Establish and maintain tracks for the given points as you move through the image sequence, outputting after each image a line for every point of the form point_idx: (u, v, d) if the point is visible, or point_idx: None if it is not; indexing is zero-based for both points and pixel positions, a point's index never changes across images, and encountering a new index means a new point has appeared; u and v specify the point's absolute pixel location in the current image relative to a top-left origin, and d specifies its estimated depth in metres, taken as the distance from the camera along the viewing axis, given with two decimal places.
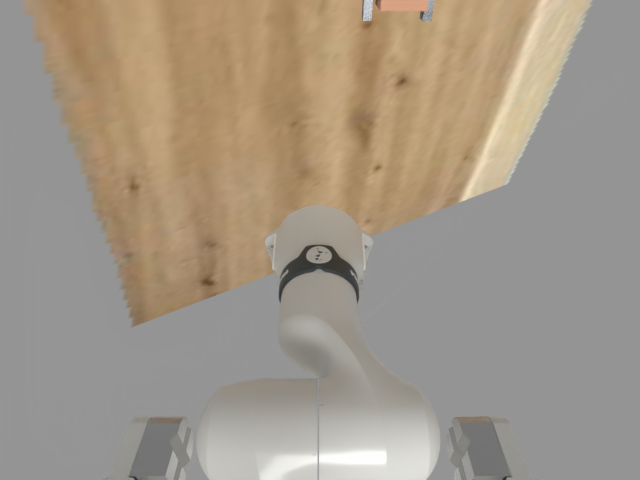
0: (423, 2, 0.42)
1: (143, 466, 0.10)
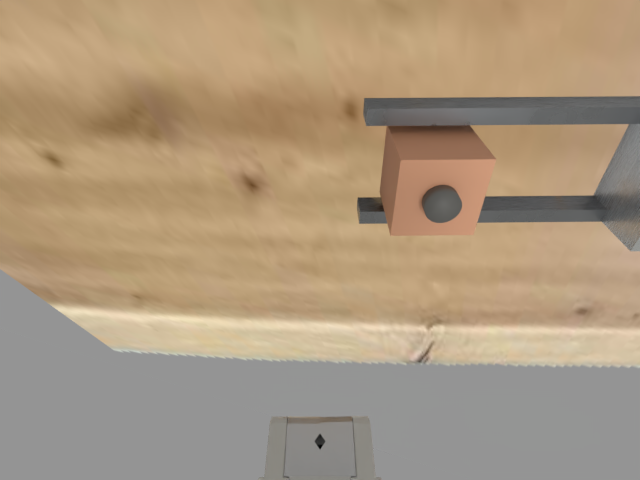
0: (404, 229, 0.23)
1: (295, 466, 0.10)
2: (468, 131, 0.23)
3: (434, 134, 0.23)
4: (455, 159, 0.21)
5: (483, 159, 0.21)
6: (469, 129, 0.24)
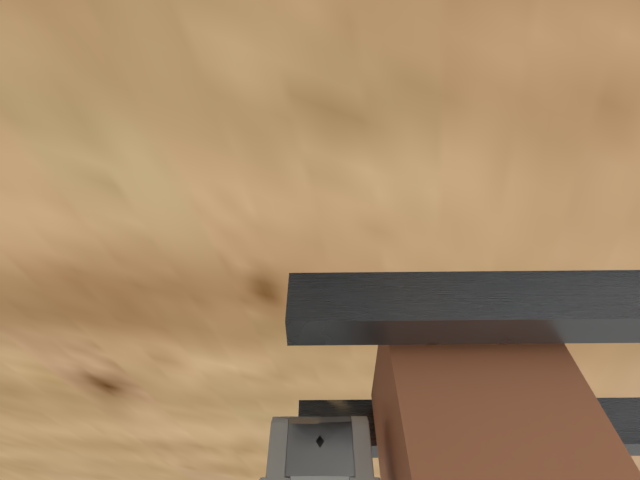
0: None
1: (296, 466, 0.10)
2: (552, 345, 0.11)
3: (483, 356, 0.11)
4: None
5: None
6: None
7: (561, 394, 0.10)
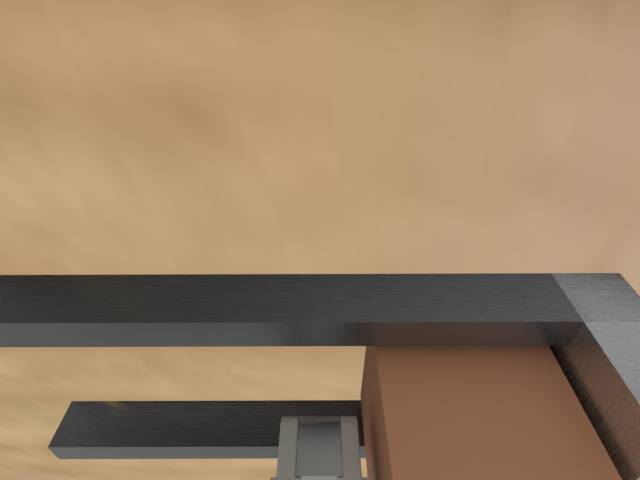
0: None
1: (307, 466, 0.10)
2: (537, 347, 0.11)
3: (467, 357, 0.11)
4: None
5: None
6: None
7: (543, 396, 0.10)
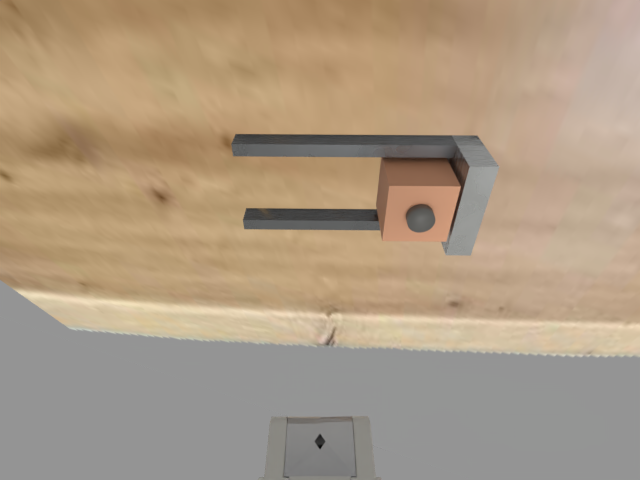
0: (393, 236, 0.30)
1: (295, 466, 0.10)
2: (443, 161, 0.30)
3: (417, 163, 0.30)
4: (429, 185, 0.28)
5: (451, 186, 0.28)
6: (445, 159, 0.31)
7: (442, 171, 0.29)
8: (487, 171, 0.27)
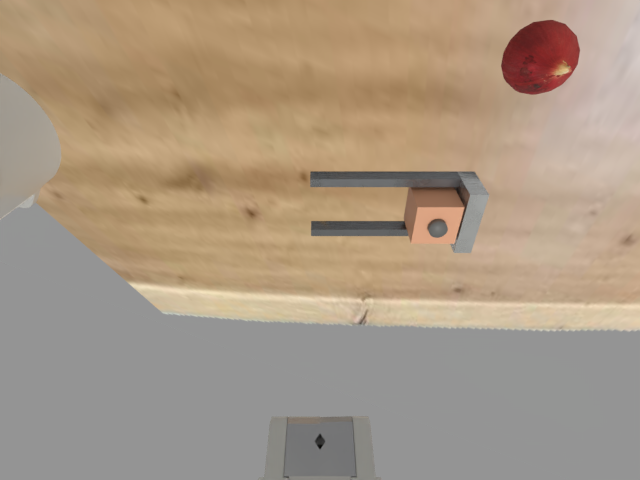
0: (418, 240, 0.45)
1: (295, 466, 0.10)
2: (452, 189, 0.45)
3: (434, 191, 0.45)
4: (444, 207, 0.42)
5: (458, 207, 0.42)
6: (453, 188, 0.45)
7: (451, 196, 0.44)
8: (481, 197, 0.41)
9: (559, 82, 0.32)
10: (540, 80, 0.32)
